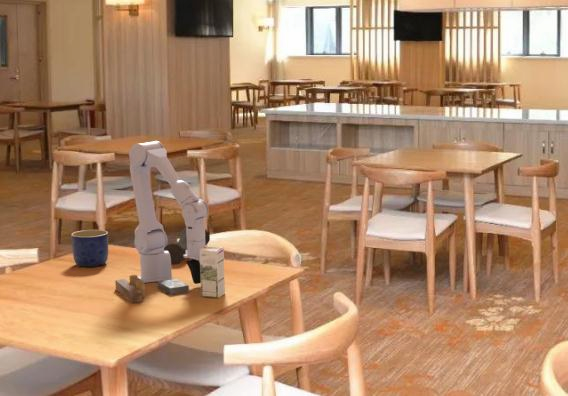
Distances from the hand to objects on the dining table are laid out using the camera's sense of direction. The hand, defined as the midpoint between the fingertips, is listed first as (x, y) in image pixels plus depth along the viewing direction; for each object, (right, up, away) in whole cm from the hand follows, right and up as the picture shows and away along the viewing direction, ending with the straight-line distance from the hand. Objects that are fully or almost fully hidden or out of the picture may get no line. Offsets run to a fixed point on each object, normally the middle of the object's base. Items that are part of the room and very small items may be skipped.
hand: (197, 283), depth 311 cm
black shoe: (-7, +6, +45) cm, 46 cm away
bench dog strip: (-19, -3, -8) cm, 20 cm away
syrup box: (+6, -3, -10) cm, 12 cm away
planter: (-39, +3, +33) cm, 52 cm away
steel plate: (-7, -2, -3) cm, 8 cm away
